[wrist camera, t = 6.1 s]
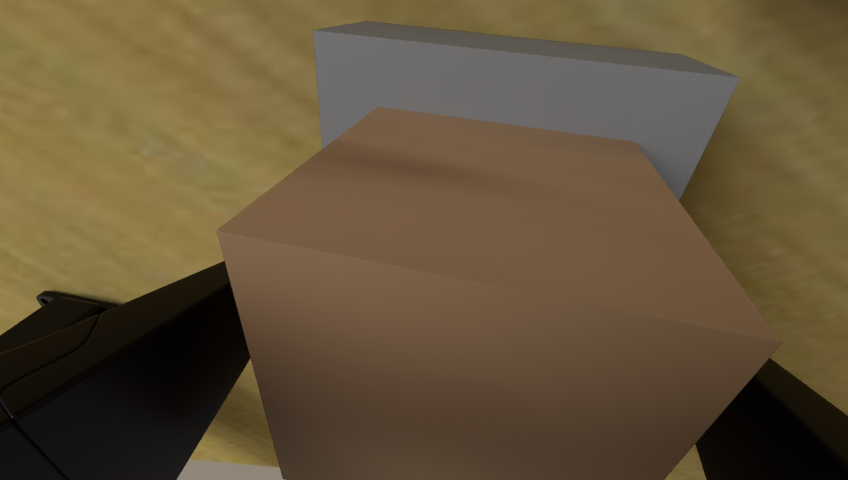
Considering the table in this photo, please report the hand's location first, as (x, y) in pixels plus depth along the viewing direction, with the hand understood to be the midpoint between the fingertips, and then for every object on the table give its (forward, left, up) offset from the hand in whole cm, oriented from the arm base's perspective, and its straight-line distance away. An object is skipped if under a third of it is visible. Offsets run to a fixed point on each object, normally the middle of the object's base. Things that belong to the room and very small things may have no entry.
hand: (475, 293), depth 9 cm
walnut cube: (0, 0, -3) cm, 3 cm away
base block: (0, 0, -6) cm, 6 cm away
